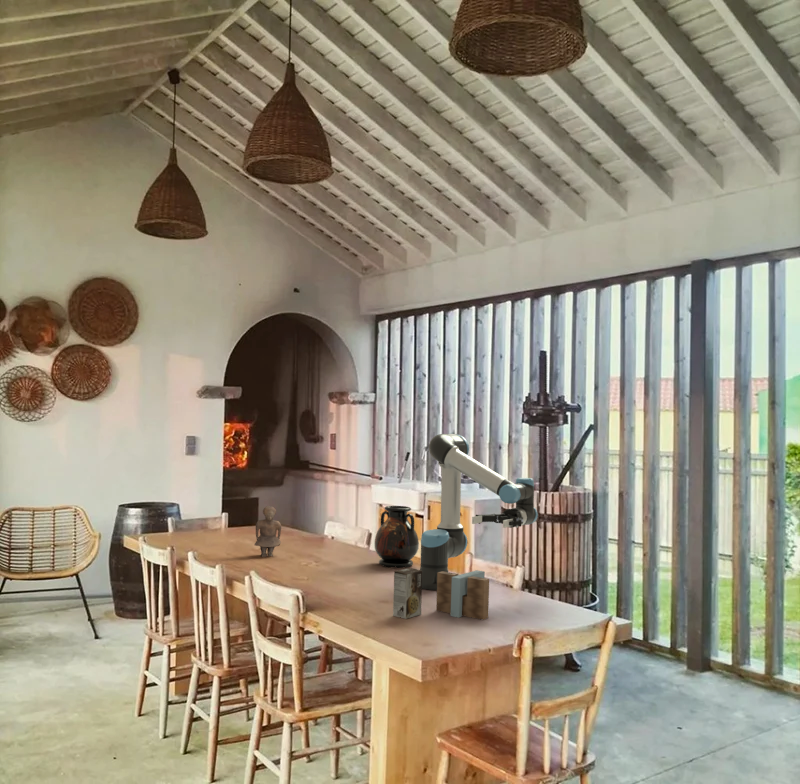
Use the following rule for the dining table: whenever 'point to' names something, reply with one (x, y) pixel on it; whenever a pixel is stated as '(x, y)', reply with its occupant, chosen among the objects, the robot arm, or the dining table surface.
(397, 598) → the coffee box
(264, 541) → the clay figurine
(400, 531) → the amphora vase
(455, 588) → the light blue block
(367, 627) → the dining table surface
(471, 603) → the u-shaped checkered block
